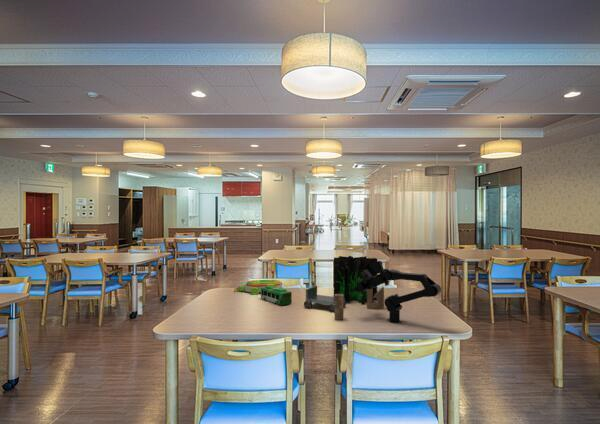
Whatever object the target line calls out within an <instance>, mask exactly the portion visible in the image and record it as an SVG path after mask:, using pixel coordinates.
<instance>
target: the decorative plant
mask: <svg viewBox="0 0 600 424" xmlns="http://www.w3.org/2000/svg"><path fill="white" fill-rule="evenodd" d="M375 262H378V258H375V257H370V258H369V257H367V256H366V255H365V256H359V257H358V256H357V257H356V256H355V257H354V256H352V255H348V256H341V255H339V256H338V257H333V297H335V294H343V298H345V300H346V302H347V304H348V303H349V304H350V302H352V301H353V302H354V301H355V302H357V303H359V304H361V305H365V303H367V289H366V291H364V292H361V293H360V292H353V291H352V289H354V288H355V287H356V286H357V282H360V281H363V282H364V284H365V278H364V277H363V276H362V275H361V272H363V271H364V270H368V271H369V272H370V273H371V275H372V276H377V275H378V274H374V273H373V271H372V269H371V267H370V264H372V263H375ZM377 292H378V286H377V287H375V288H373V296H374V295H375V294H376V293H377ZM375 301H377V302H378V298H373V302H375Z"/></svg>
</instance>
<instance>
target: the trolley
mask: <svg viewBox="0 0 600 424" xmlns="http://www.w3.org/2000/svg"><path fill="white" fill-rule="evenodd" d="M313 303H314V304H318V305H319V304H321V305H327V306H328V310H329V312H331V313H335V297H334V296H330V295H322V294H318V286H317V285H314V286H311V287H309V288H306V289H305V301H304V302H303V307H304V308H305V309H307V310H309V309H311V308H312V306H313ZM347 304H348V302H346V300H345V298H343V308H344V307H346V306H347Z"/></svg>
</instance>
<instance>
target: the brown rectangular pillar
mask: <svg viewBox="0 0 600 424" xmlns="http://www.w3.org/2000/svg"><path fill="white" fill-rule="evenodd" d="M334 320H335V321H344V307H343V294H335V312H334Z"/></svg>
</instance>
